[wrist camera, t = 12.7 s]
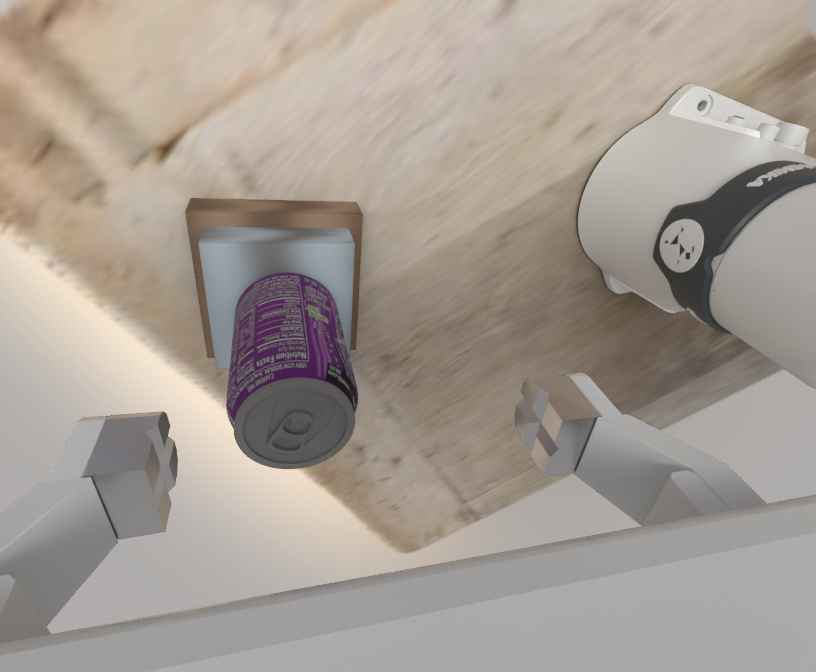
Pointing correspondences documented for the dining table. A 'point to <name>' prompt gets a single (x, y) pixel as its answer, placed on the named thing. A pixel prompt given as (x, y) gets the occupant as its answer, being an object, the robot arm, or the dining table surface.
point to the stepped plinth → (268, 218)
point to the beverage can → (290, 374)
